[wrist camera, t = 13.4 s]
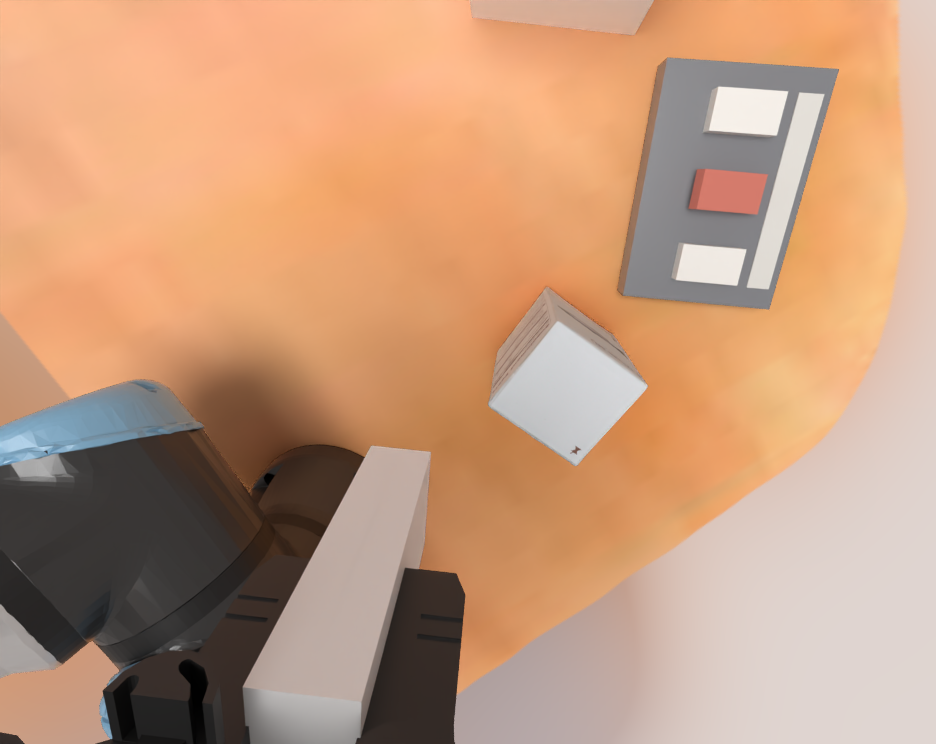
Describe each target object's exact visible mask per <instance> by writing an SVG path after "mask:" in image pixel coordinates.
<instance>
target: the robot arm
mask: <svg viewBox="0 0 936 744" xmlns="http://www.w3.org/2000/svg"><path fill="white" fill-rule="evenodd" d="M203 429H204V426H203V424H202V423H201V422H198V421H196V420H195V419H194V418H193V416H192V415H191V414H190V413H189V412H188V410H187V409H186V408H185V407H184V406H183V404H182V403H181V402H180V401H179V400H178V398H177V397H176V396H175V395H174V394H173V392H172V391H171V390H170V389H169V388H168V387H166V386H165V385H163V384H161V383H159V382H156V381H152V380H145V379H140V380H132V381H127V382H123V383H120V384H116V385H113V386H110V387H107V388H103V389H100V390H97V391H94V392H91V393H88V394H85V395H82V396H79V397H76V398H74V399H71V400H68V401H65V402H63V403H59V404H57V405H54V406H51V407H48V408H46V409H43V410H41V411H38V412H35V413H33V414H30V415H28V416H25V417H22V418H20V419H17V420H15V421H12V422H10V423H7V424H5V425H2V426H0V678H2V677H5V676H8V675H10V674H13V673H22V672H33V671H43V670H54V669H56V668H58V667H59V666H61V665H62V664H63V663H65V661H67V660H68V659H69V658H71V657H72V656H73V655H74V654H75V653H77V652H78V651H79V650H80V649H81V648H83V647H84V646H85V645H86V644H88V643H89V642H91V641H93V642H94V643H95V644H96V645H98V647H99V648H100V649H101V650H102V651H103V652H104V653H105V654H106V655H107V656H108V657H109V659H110V660H111V661H112V662H113V663H114V664H115V666H116V667H117V668H118V669H119V672H118V674H116V675H114V676H113V677H112V678H111V679H110V681H109V683H108V684H107V687H106V688H105V689H104V690H103V697H102V699H101V702H100V705H99V706H100V715H101V716H102V718H101V723H102V727H103V729H104V731H105V733H106V734H107V736H108V737H109V738H110V740H107V741H104V742H100V743H97V744H455V742H454V715H455V704H456V693H457V682H458V671H459V659H460V648H461V637H462V626H463V615H464V604H465V593H464V591H463V588H462V586H461V583H460V581H459V579H458V576H457V574H456V573H447V572H439V571H430V570H421V569H419V566H420V562H421V557H422V553H423V548H424V544H425V530H426V516H427V502H428V488H429V474H430V460H431V452H427V451H418V450H408V449H399V448H390V447H381V446H371V447H370V449H369V451H368V453H367V454H366V456H365V458H363V457H362V456H360V455H358V454H356V453H353V452H351V451H348V450H346V449H342V448H338V447H334V446H327V445H310V446H303V447H299V448H295V449H293V450H290V451H288V452H286V453H284V454H282V455H281V456H279V457H278V458H277V459H275V460H274V461H273V462H272V463H271V464H270V465H269V466H268V467H267V468H266V470H265V471H264V472H263V473H262V474H261V475H260V476H259V478H258V479H257V480H256V482H255V484H254V486H253V487H252V489H251V492H250V494H249V492H248V491H247V490H246V488H245V487H244V486H243V484H242V483H241V482H240V480H239V479H238V477H237V476H236V475H235V473H234V472H233V471H232V469H231V468H230V467H229V465H228V464H227V462H226V461H225V460H224V458H223V457H222V456H221V454H220V453H219V452H218V450H217V449H216V448H215V446H214V445H213V443H212V442H211V441H210V439H209V438H208V436H207V435H206V433H205V432H204V431H203ZM0 744H24V743H23V741H22V740H21V739H20V738H19V737H18V736H17V735H12V734H6V733H0Z"/></svg>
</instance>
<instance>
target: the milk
mask: <svg viewBox="0 0 936 744" xmlns="http://www.w3.org/2000/svg"><path fill="white" fill-rule="evenodd" d="M653 1H654V0H470V6H471V13H472V18H481V19H490V20H499V21H508V22H517V23H526V24H535V25H544V26H553V27H562V28H571V29H580V30H589V31H598V32H607V33H616V34H625V35H635V33H636V32H637V30H638V28H639V26H640V24H641V23H642V21H643V19H644V17H645V15H646V14H647V12H648V10H649V8H650V6H651V5H652V3H653Z"/></svg>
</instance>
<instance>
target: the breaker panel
mask: <svg viewBox="0 0 936 744" xmlns="http://www.w3.org/2000/svg"><path fill="white" fill-rule="evenodd" d="M838 71H839V69H829V68H814V67H799V66H784V65H770V64H755V63H740V62H725V61H710V60H695V59H680V58H667V59H665V60H664V61H663V62H662V63H661V64H660V65H659V66H658V69H657V74H656V80H655V85H654V91H653V96H652V102H651V107H650V113H649V118H648V124H647V129H646V135H645V140H644V146H643V151H642V157H641V162H640V168H639V173H638V179H637V184H636V190H635V195H634V201H633V206H632V212H631V217H630V223H629V228H628V233H627V239H626V244H625V250H624V255H623V261H622V266H621V272H620V277H619V283H618V288H617V290H618V291H619V292H620V293H621V294H622V295H623V296H634V297H644V298H655V299H665V300H676V301H686V302H696V303H707V304H717V305H728V306H738V307H749V308H759V309H769V308H770V305H771V301H772V298H773V294H774V291H775V288H776V284H777V281H778V277H779V274H780V270H781V267H782V263H783V260H784V257H785V253H786V250H787V246H788V243H789V239H790V236H791V232H792V229H793V226H794V222H795V219H796V215H797V212H798V208H799V205H800V202H801V198H802V195H803V191H804V188H805V184H806V181H807V177H808V174H809V171H810V167H811V164H812V160H813V157H814V153H815V150H816V146H817V143H818V140H819V136H820V133H821V129H822V126H823V122H824V119H825V116H826V112H827V109H828V105H829V102H830V98H831V95H832V91H833V88H834V85H835V81H836V78H837V74H838ZM697 169H714V170H725V171H736V172H747V173H758V174H768V176H767V180H766V184H765V188H764V192H763V195H762V199H761V203H760V207H759V210H758V214H746V213H734V212H722V211H710V210H698V209H688V208H689V204H690V199H691V195H692V190H693V186H694V181H695V177H696V172H697Z"/></svg>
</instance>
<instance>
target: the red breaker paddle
mask: <svg viewBox="0 0 936 744" xmlns="http://www.w3.org/2000/svg"><path fill="white" fill-rule="evenodd" d="M767 176H768V174H758V173H747V172H736V171H725V170H714V169H697V172H696V177H695V181H694V186H693V190H692V195H691V199H690V204H689V208H688V209H698V210H710V211H722V212H734V213H746V214H758V210H759V207H760V203H761V199H762V195H763V192H764V188H765V184H766V180H767Z"/></svg>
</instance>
